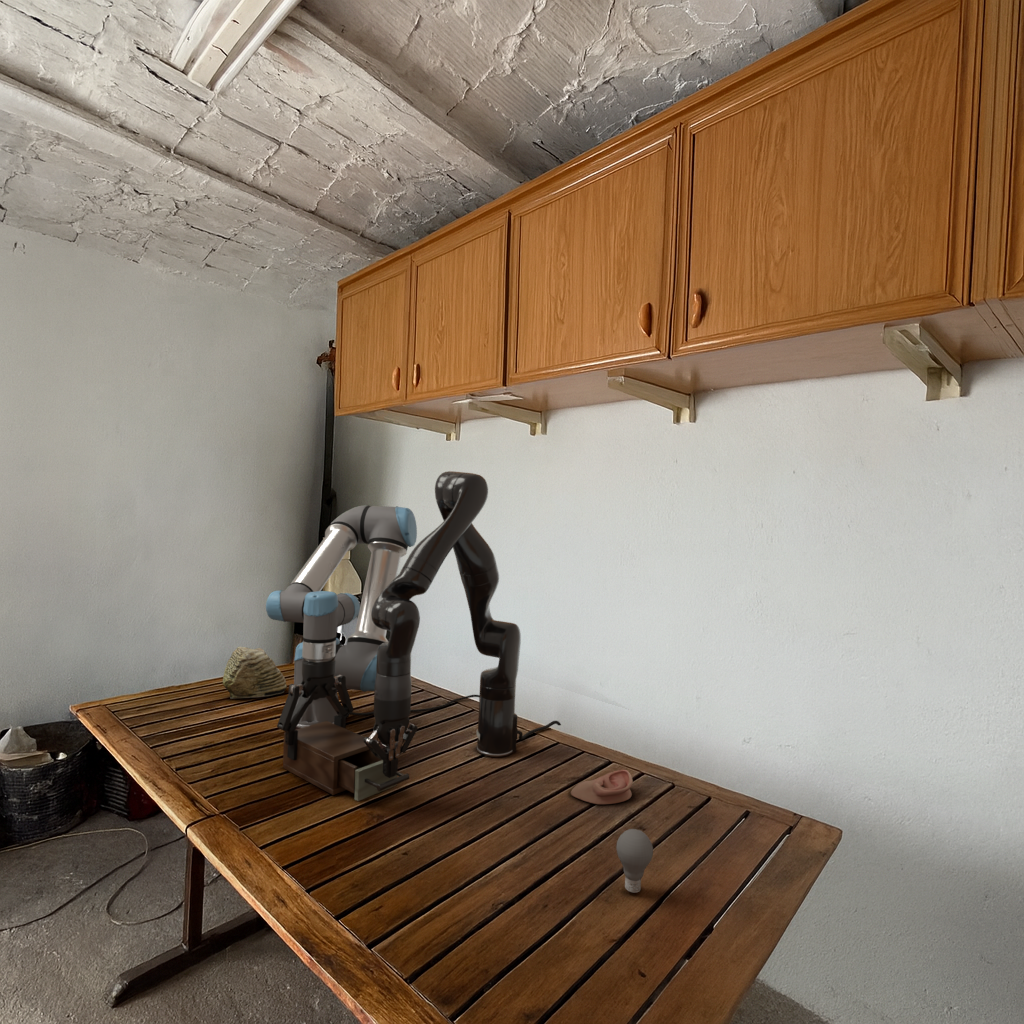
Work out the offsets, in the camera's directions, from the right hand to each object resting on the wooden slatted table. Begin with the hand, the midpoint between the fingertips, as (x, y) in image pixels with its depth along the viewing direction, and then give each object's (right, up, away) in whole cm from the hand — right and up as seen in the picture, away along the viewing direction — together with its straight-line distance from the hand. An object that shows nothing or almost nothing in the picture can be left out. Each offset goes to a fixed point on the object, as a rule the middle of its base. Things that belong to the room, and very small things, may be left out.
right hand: (390, 775), depth 132 cm
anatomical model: (+45, -8, +9) cm, 47 cm away
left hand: (-21, -1, +17) cm, 27 cm away
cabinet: (-16, -5, +13) cm, 22 cm away
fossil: (-55, -2, +66) cm, 86 cm away
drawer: (-8, -4, +6) cm, 11 cm away
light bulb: (+46, -9, -26) cm, 53 cm away
